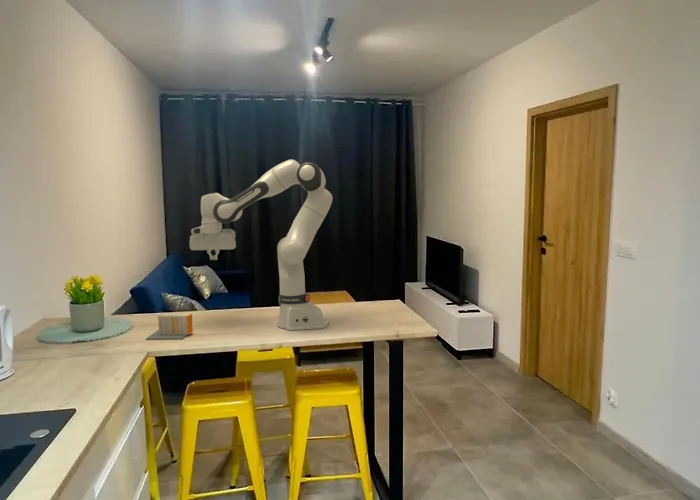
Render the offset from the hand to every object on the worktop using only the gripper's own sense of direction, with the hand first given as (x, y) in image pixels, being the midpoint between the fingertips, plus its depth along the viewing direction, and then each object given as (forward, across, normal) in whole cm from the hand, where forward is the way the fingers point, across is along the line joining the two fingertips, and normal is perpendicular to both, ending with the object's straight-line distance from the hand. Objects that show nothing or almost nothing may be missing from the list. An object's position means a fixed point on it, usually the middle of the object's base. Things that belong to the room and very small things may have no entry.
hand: (213, 259), depth 233 cm
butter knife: (+29, +40, +40) cm, 63 cm away
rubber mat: (+29, +14, +21) cm, 38 cm away
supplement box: (+24, +5, +21) cm, 32 cm away
